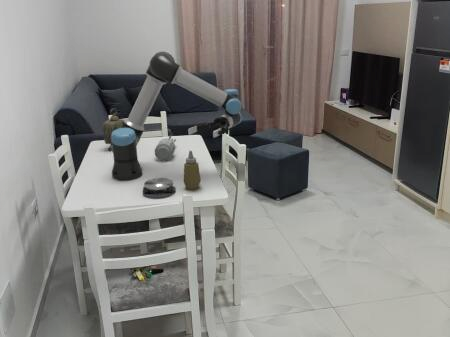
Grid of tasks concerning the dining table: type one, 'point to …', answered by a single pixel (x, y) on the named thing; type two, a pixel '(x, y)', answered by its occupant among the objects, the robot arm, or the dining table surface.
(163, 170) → the dining table surface
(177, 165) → the dining table surface
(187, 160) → the squeeze bottle
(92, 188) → the dining table surface
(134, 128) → the robot arm
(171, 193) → the base
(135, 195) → the dining table surface
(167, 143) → the device
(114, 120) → the olive green container
